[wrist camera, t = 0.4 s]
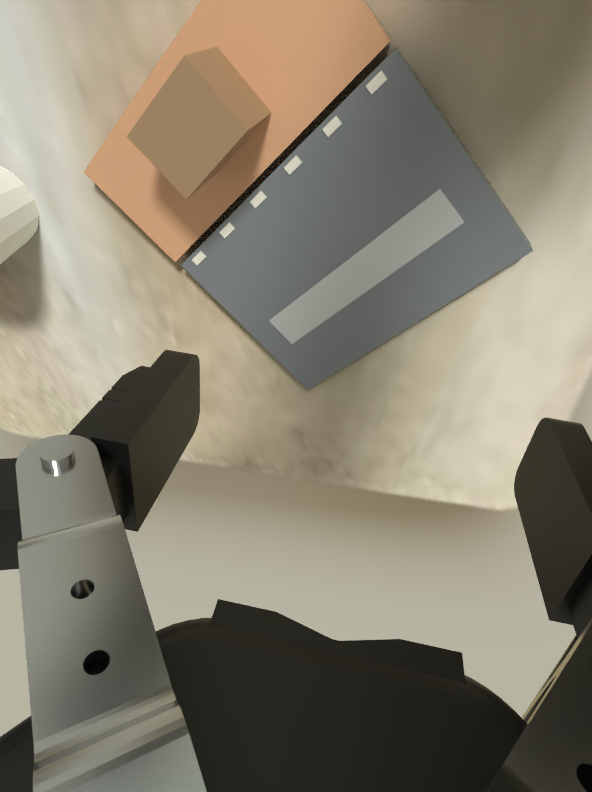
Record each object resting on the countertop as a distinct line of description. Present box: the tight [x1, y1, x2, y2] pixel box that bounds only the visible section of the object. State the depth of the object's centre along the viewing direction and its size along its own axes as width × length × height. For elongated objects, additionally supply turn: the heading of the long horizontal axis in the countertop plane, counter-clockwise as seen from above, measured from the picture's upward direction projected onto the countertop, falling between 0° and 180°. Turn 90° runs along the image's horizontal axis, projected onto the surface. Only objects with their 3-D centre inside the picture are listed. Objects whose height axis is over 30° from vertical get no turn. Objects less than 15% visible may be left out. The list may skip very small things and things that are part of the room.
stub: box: [84, 0, 391, 262], centre depth 27 cm, size 18×8×6 cm, turn 134°
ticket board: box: [181, 47, 533, 390], centre depth 32 cm, size 18×13×1 cm
